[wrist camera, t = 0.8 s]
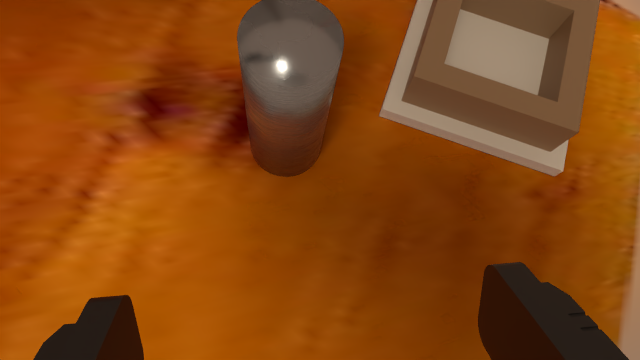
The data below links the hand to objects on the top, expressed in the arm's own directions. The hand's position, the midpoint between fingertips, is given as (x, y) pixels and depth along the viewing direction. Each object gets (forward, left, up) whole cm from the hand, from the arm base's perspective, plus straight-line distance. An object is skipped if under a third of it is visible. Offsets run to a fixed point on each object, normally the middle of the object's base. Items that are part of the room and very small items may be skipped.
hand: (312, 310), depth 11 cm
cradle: (+7, +21, -17) cm, 27 cm away
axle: (-4, +11, -17) cm, 20 cm away
